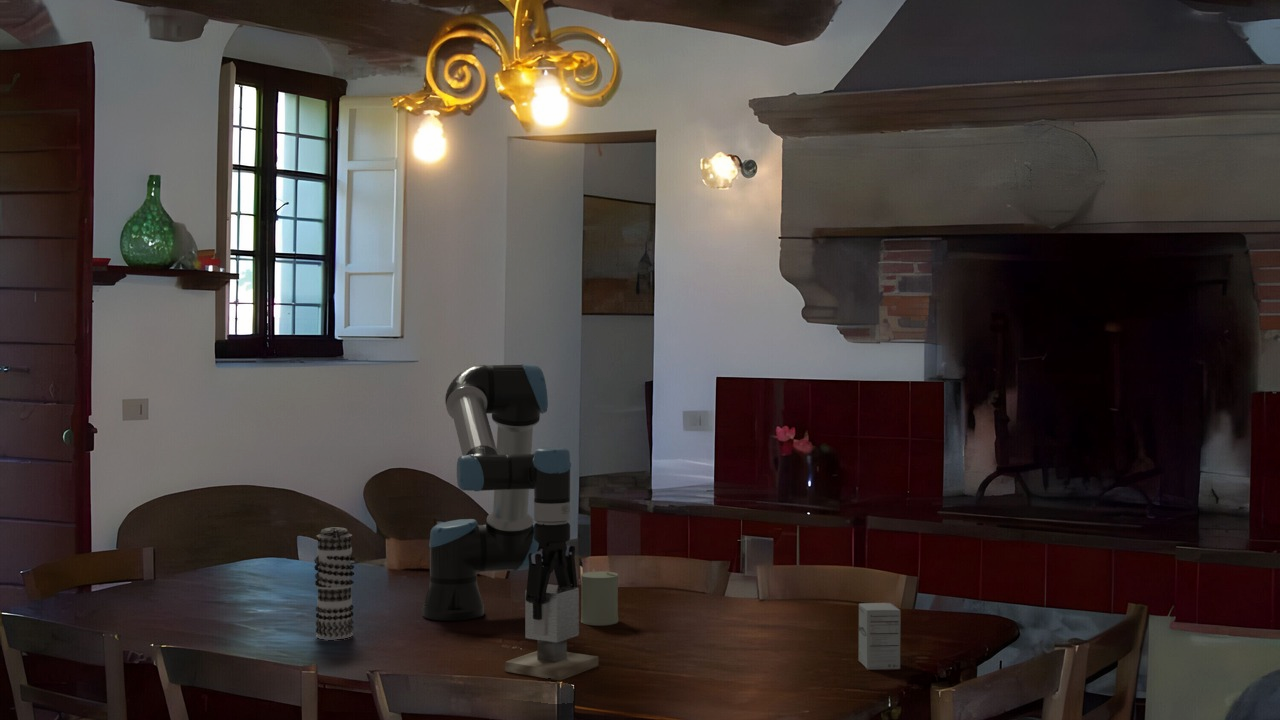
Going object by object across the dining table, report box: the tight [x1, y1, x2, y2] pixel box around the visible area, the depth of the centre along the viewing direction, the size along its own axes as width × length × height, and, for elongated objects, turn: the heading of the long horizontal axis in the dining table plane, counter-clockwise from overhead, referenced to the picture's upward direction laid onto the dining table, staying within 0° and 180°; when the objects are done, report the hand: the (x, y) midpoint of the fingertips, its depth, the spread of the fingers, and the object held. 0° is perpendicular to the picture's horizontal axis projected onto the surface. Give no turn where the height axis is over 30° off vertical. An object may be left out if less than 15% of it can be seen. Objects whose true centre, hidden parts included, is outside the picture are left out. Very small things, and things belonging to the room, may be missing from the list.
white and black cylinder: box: [313, 526, 356, 639], centre depth 309 cm, size 9×9×25 cm
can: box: [580, 570, 619, 627], centre depth 326 cm, size 9×9×12 cm
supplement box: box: [858, 602, 902, 671], centre depth 283 cm, size 7×7×13 cm
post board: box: [504, 639, 599, 682], centre depth 279 cm, size 14×14×9 cm
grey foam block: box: [524, 583, 580, 643], centre depth 279 cm, size 8×8×10 cm
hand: (552, 630), depth 279 cm, fingers closed on grey foam block, 8 cm apart
